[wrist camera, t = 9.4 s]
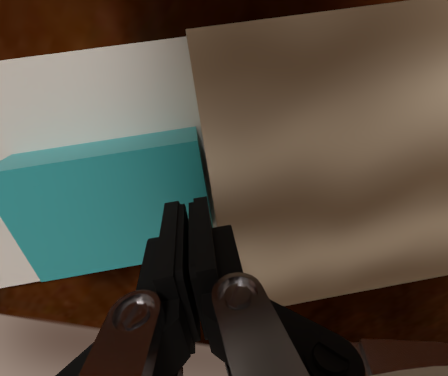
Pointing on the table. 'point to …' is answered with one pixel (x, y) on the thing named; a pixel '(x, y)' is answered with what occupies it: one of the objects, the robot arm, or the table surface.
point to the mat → (92, 109)
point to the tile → (97, 199)
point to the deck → (329, 145)
